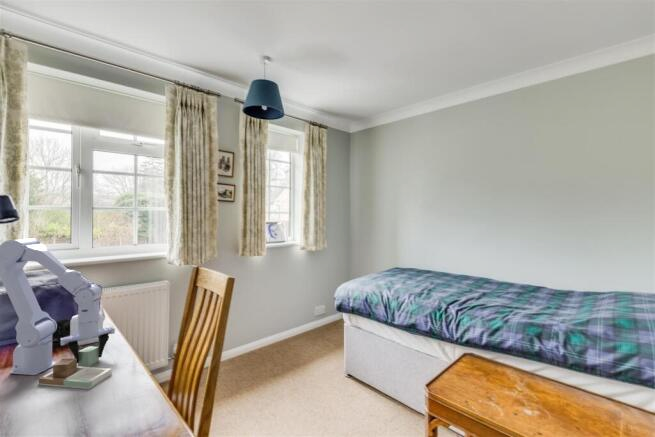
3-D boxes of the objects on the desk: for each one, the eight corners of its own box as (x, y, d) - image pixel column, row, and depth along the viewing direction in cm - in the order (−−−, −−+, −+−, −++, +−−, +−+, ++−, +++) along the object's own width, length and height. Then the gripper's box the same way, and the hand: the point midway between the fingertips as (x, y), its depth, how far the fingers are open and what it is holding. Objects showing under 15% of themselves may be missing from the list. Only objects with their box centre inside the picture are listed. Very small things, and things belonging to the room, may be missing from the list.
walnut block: (53, 381, 90) (53, 365, 90) (62, 374, 94) (62, 358, 94) (67, 380, 91) (67, 364, 91) (76, 373, 95) (76, 358, 94)
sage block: (78, 365, 100) (78, 351, 100) (88, 360, 104) (88, 346, 104) (88, 366, 100) (88, 352, 100) (98, 360, 104) (99, 346, 104)
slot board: (38, 384, 89) (38, 378, 89) (65, 370, 97) (65, 365, 97) (88, 388, 87) (88, 382, 87) (111, 374, 95) (111, 368, 95)
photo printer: (102, 338, 123) (102, 308, 123) (103, 341, 120) (103, 311, 120) (70, 344, 116) (70, 313, 116) (69, 348, 113) (69, 316, 113)
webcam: (61, 348, 113) (61, 322, 113) (42, 348, 113) (42, 322, 113) (78, 339, 121) (78, 315, 121) (61, 339, 121) (61, 315, 121)
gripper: (112, 313, 110) (111, 348, 110) (59, 322, 99) (59, 362, 100) (115, 317, 105) (115, 355, 105) (61, 328, 95) (61, 370, 95)
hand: (88, 359), depth 102 cm, fingers closed on sage block, 6 cm apart
